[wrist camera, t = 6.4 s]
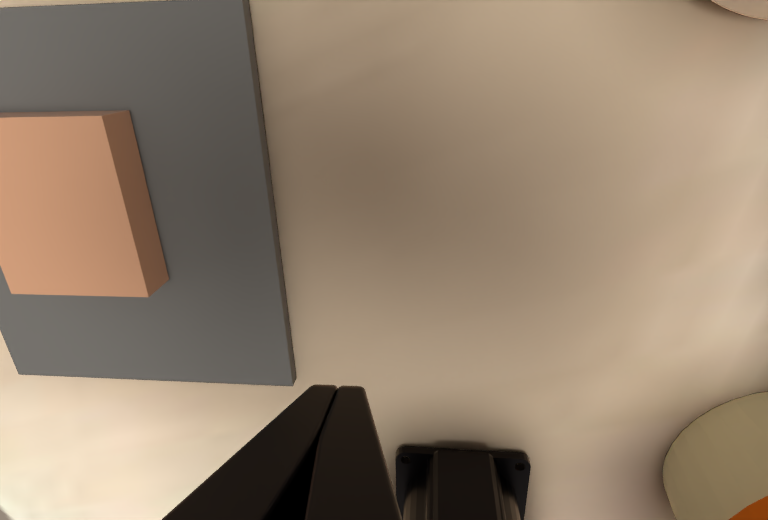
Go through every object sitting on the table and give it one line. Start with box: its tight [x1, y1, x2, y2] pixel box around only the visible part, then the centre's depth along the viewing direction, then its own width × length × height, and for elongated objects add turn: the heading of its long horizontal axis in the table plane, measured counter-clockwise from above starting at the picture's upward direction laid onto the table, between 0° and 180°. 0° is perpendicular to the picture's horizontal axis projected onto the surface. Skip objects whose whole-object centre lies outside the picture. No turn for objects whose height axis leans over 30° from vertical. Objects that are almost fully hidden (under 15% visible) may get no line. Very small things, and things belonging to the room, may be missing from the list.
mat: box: [0, 0, 296, 386], centre depth 20 cm, size 16×14×1 cm
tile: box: [0, 110, 169, 297], centre depth 19 cm, size 7×2×6 cm
